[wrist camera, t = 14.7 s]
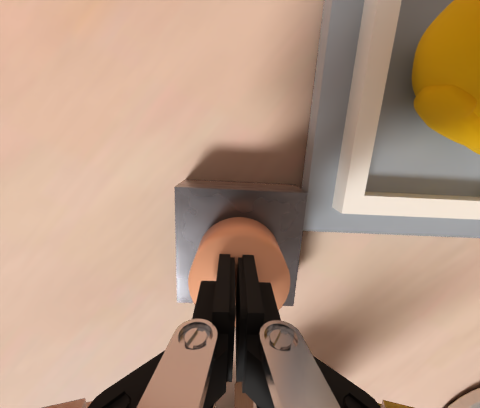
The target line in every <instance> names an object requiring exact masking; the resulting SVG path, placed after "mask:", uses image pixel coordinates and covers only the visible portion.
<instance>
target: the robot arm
mask: <svg viewBox="0 0 480 408" xmlns="http://www.w3.org/2000/svg"><path fill="white" fill-rule="evenodd" d="M235 323H236V382H242V393H246V394H247V395H248V397H249V398H250V399H251V400H252V401H253V408H413V407H409V406H405V405H401V404H397V403H393V402H389V401H385V400H383V401H382V404H379V403H377V402H376V401H375V399H373V398H372V397H371V396H370V395H369V394H367V393H366V392H365V391H363V390H362V389H360V388H359V387H358V386H356V385H355V384H353V383H352V382H350V381H349V380H347V379H346V378H345V377H343V376H342V375H340V374H339V373H337V372H336V371H334V370H333V369H331V368H330V367H329V366H327V365H326V364H324V363H323V362H321V361H320V360H318V359H317V358H316V357H314V356H313V355H312V354H311V352H310V350H309V348H308V346H307V344H306V342H305V341H304V339H303V337H302V335H301V333H300V332H299V331H298V329H297V328H295V327H294V326H293V325H291V324H289V323H287V322H284V321H281V319H280V315H279V312H278V308H277V304H276V301H275V297H274V293H273V289H272V286H271V283H270V282H259V281H258V275H257V270H256V264H255V259H254V255H242V258H241V257H238V269H237V287H236V305H235V257H230V254H219V262H218V270H217V278H216V281H201V283H200V288H199V292H198V296H197V301H196V305H195V309H194V313H193V318H192V320H188V321H186V322H184V323H182V324H181V325H180V326H179V327H178V328H177V329H176V331H175V332H174V334H173V336H172V338H171V340H170V342H169V344H168V346H167V348H166V350H165V351H163V352H162V353H160V354H159V355H157V356H156V357H154V358H153V359H151V360H150V361H148V362H147V363H145V364H144V365H142V366H141V367H139V368H138V369H136V370H135V371H133V372H132V373H130V374H129V375H127V376H126V377H124V378H123V379H121V380H120V381H118V382H117V383H115V384H114V385H112V386H111V387H109V388H107V389H106V390H105V391H103V392H102V393H101V394H100V395H98V396H97V397H96V398H95V399H94V400H93V401H91V402H86V399H85V398H83V399H79V400H74V401H70V402H65V403H61V404H56V405H52V406H47V407H43V408H215V402H216V401H217V400H218V399H219V398H220V397H221V396H222V395H223V394H224V393H225V392H226V382H232V369H233V351H234V333H235ZM447 408H480V388H477V389H475V390H472V391H470V392H468V393H467V394H465V395H463V396H461V397H460V398H458V399H457V400H456V401H454V402H453V403H452V404H450V405H449V406H448V407H447Z"/></svg>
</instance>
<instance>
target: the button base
mask: <svg viewBox="0 0 480 408" xmlns="http://www.w3.org/2000/svg"><path fill="white" fill-rule="evenodd" d="M307 194H308V193H307V192H305V191H304V190H302V189H301V188H299V187H298V186H296V185H291V184H270V183H249V182H228V181H207V180H186V179H185V180H184V181H182V182H181V183H179V184H178V185H177V186H175V227H176V277H177V302H179V303H194V302H193V301H192V298H191V296H190V292H189V287H188V278H189V273H190V269H191V266H192V264H193V261H194V258H195V255H196V252H197V250H198V247H199V244H200V242H201V239H202V237H203V236H204V234H205V233H206V232H207V230H208V229H209V228H210V227H212V226H213V225H214V224H216V223H218V222H219V221H222V220H224V219H228V218H233V217H245V218H250V219H253V220H256V221H258V222H260V223H262V224H263V225H265V226H266V227H267V228H268V229H269V230H270V231H271V232H272V234H273V235H274V237H275V239H276V241H277V243H278V246H279V248H280V250H281V253H282V255H283V257H284V259H285V262H286V264H287V267H288V269H289V273H290V290H289V293H288V296H287V299H286V301H285V303H284V304H283V305H282V306H293V304H294V296H295V288H296V280H297V272H298V265H299V257H300V249H301V241H302V233H303V226H304V218H305V210H306V202H307Z"/></svg>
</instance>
